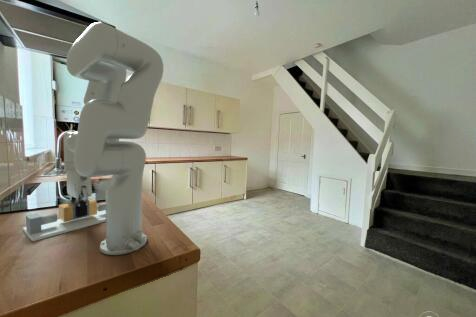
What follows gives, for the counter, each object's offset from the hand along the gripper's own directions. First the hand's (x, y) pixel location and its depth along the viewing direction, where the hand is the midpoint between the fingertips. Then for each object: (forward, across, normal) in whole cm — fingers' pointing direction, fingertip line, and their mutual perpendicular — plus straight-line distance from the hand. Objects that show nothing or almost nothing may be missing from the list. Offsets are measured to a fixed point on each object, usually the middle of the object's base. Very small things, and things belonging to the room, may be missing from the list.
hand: (78, 213), depth 75 cm
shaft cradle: (+3, 0, 0) cm, 3 cm away
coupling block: (+1, 0, 0) cm, 1 cm away
